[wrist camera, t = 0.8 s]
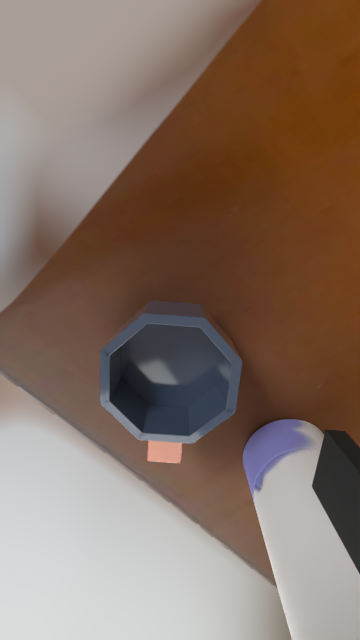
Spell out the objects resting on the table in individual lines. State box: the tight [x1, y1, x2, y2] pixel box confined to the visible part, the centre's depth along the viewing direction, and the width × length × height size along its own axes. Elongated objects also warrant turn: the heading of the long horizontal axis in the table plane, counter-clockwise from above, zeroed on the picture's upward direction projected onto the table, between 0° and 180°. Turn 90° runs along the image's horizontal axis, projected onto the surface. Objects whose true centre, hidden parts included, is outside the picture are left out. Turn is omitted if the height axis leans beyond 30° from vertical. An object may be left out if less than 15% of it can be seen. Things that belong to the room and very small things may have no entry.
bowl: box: [100, 300, 243, 463], centre depth 25 cm, size 13×11×5 cm
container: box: [243, 419, 360, 640], centre depth 22 cm, size 10×10×20 cm
